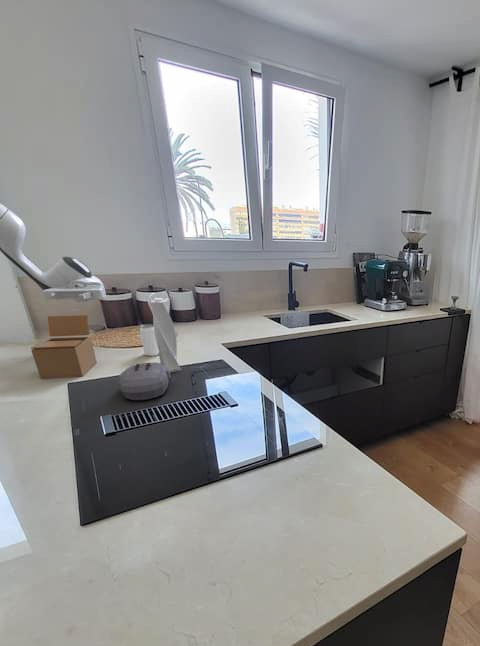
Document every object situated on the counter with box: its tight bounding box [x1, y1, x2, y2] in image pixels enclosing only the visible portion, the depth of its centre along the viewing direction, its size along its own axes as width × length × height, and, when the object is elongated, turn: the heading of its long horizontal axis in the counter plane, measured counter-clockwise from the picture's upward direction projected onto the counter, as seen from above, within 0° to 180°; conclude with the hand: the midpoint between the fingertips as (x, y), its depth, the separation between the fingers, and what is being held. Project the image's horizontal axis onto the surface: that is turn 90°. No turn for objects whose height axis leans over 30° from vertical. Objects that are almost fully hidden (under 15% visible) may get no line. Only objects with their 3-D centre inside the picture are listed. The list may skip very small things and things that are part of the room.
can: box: [139, 323, 159, 357], centre depth 162 cm, size 6×6×12 cm
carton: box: [30, 336, 98, 380], centre depth 142 cm, size 15×13×11 cm
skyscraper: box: [147, 292, 183, 374], centre depth 143 cm, size 8×8×28 cm
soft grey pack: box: [118, 362, 172, 401], centre depth 128 cm, size 15×8×20 cm
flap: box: [46, 314, 91, 337], centre depth 147 cm, size 7×13×1 cm
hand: (67, 297), depth 147 cm, fingers open, 8 cm apart
